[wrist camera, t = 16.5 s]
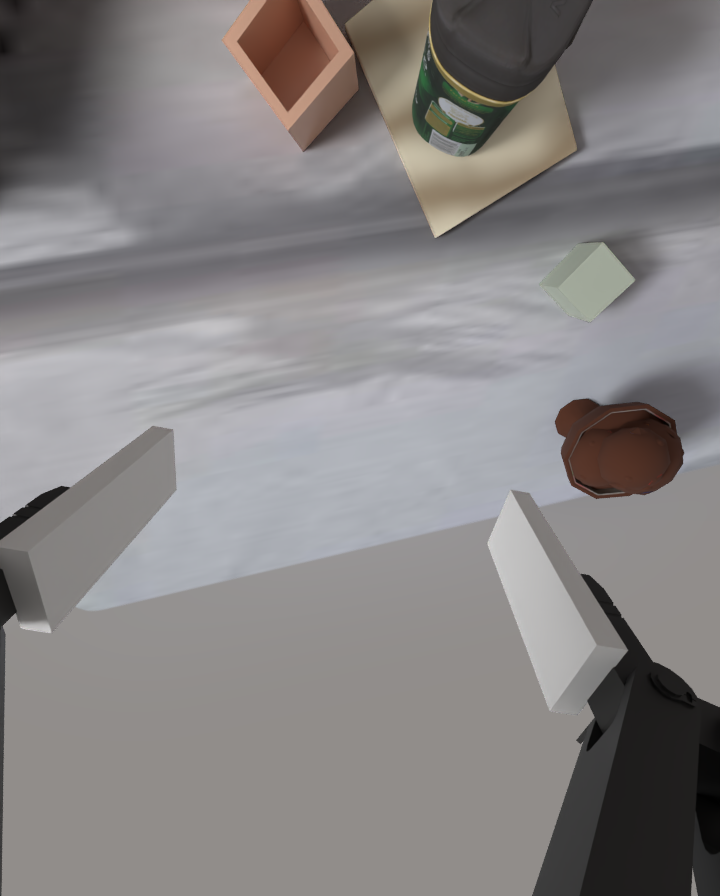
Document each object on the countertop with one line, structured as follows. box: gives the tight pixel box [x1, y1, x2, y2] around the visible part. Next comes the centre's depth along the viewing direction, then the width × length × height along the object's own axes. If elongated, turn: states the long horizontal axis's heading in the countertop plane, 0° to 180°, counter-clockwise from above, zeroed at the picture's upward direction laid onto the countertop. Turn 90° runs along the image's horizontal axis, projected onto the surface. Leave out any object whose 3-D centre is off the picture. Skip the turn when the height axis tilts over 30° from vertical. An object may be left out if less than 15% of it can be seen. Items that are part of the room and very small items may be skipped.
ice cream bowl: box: [555, 399, 684, 499], centre depth 41 cm, size 11×11×15 cm
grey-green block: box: [539, 242, 635, 322], centre depth 38 cm, size 5×5×5 cm
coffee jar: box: [412, 0, 593, 157], centre depth 25 cm, size 10×8×19 cm
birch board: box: [345, 0, 577, 238], centre depth 34 cm, size 18×14×1 cm
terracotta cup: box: [222, 0, 359, 152], centre depth 31 cm, size 7×7×7 cm
